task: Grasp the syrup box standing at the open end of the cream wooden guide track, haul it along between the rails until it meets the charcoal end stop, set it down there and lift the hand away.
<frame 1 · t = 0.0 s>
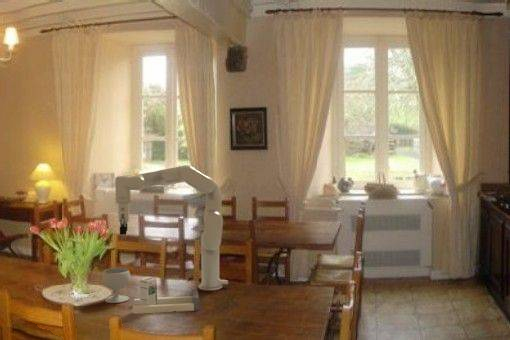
hand: (123, 232, 290), 31 cm above the table, tool pointing down, fingers open, 9 cm apart
guide track: (165, 307, 266), on the table
syrup box: (148, 308, 265), resting in guide track
chalice: (116, 300, 278), on the table
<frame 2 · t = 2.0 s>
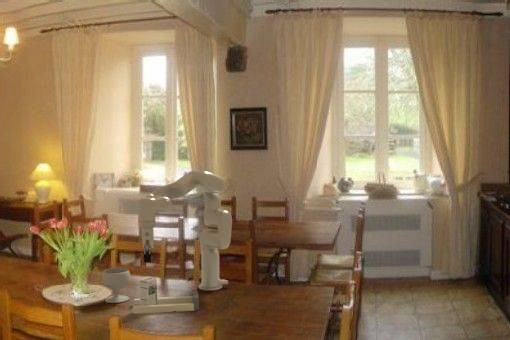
hand: (147, 259, 263), 23 cm above the table, tool pointing down, fingers open, 9 cm apart
nothing on the table moved.
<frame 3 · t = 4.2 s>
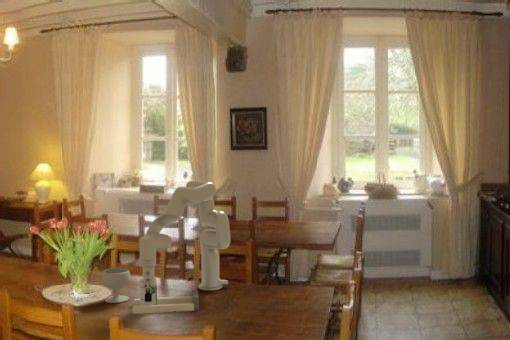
hand: (148, 298, 264), 5 cm above the table, tool pointing down, fingers closed on syrup box, 7 cm apart
syrup box: (148, 308, 265), resting in guide track, touching gripper
everything else where it was.
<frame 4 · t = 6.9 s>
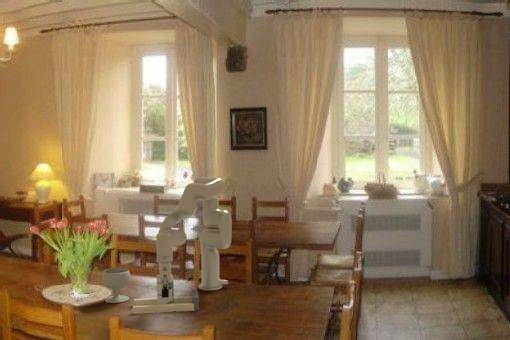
hand: (165, 294, 266), 6 cm above the table, tool pointing down, fingers closed on syrup box, 7 cm apart
syrup box: (165, 304, 266), point 1 cm above the table, touching gripper
everything else where it was.
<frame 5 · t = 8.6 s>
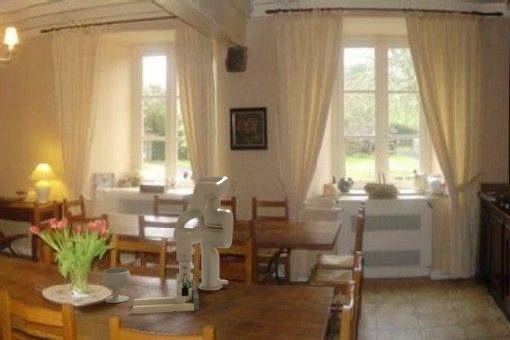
hand: (184, 293, 267), 7 cm above the table, tool pointing down, fingers closed on syrup box, 7 cm apart
syrup box: (184, 303, 268), point 2 cm above the table, touching gripper, guide track
everything else where it was.
when the fingers open (5 cm above the table, at t = 9.8 s): syrup box stays where it is, resting in guide track.
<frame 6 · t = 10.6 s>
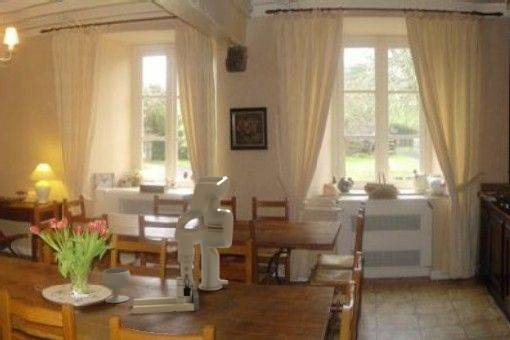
hand: (186, 292, 268), 7 cm above the table, tool pointing down, fingers open, 9 cm apart
syrup box: (184, 306, 267), resting in guide track
everything else where it was.
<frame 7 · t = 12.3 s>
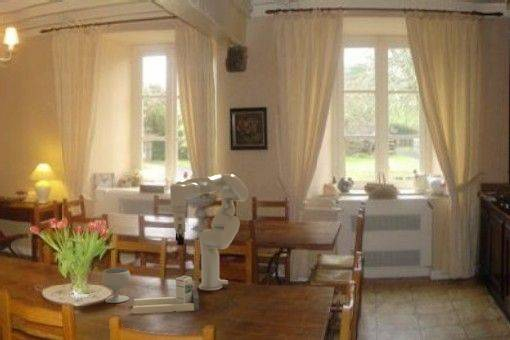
hand: (179, 242, 278), 28 cm above the table, tool pointing down, fingers open, 9 cm apart
nothing on the table moved.
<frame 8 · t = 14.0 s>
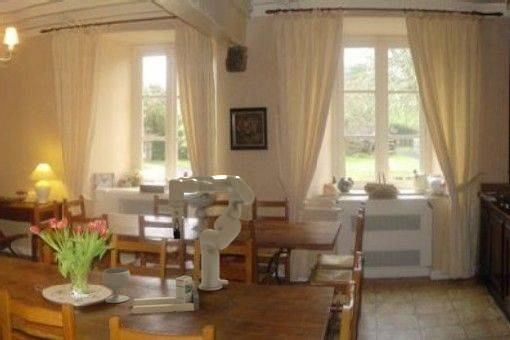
hand: (176, 237, 282), 30 cm above the table, tool pointing down, fingers open, 9 cm apart
nothing on the table moved.
at the end: syrup box 0.9 cm from the target spot on the guide track, point 0.0 cm above the guide track's base; syrup box tilted 0°; the gripper is holding nothing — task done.
